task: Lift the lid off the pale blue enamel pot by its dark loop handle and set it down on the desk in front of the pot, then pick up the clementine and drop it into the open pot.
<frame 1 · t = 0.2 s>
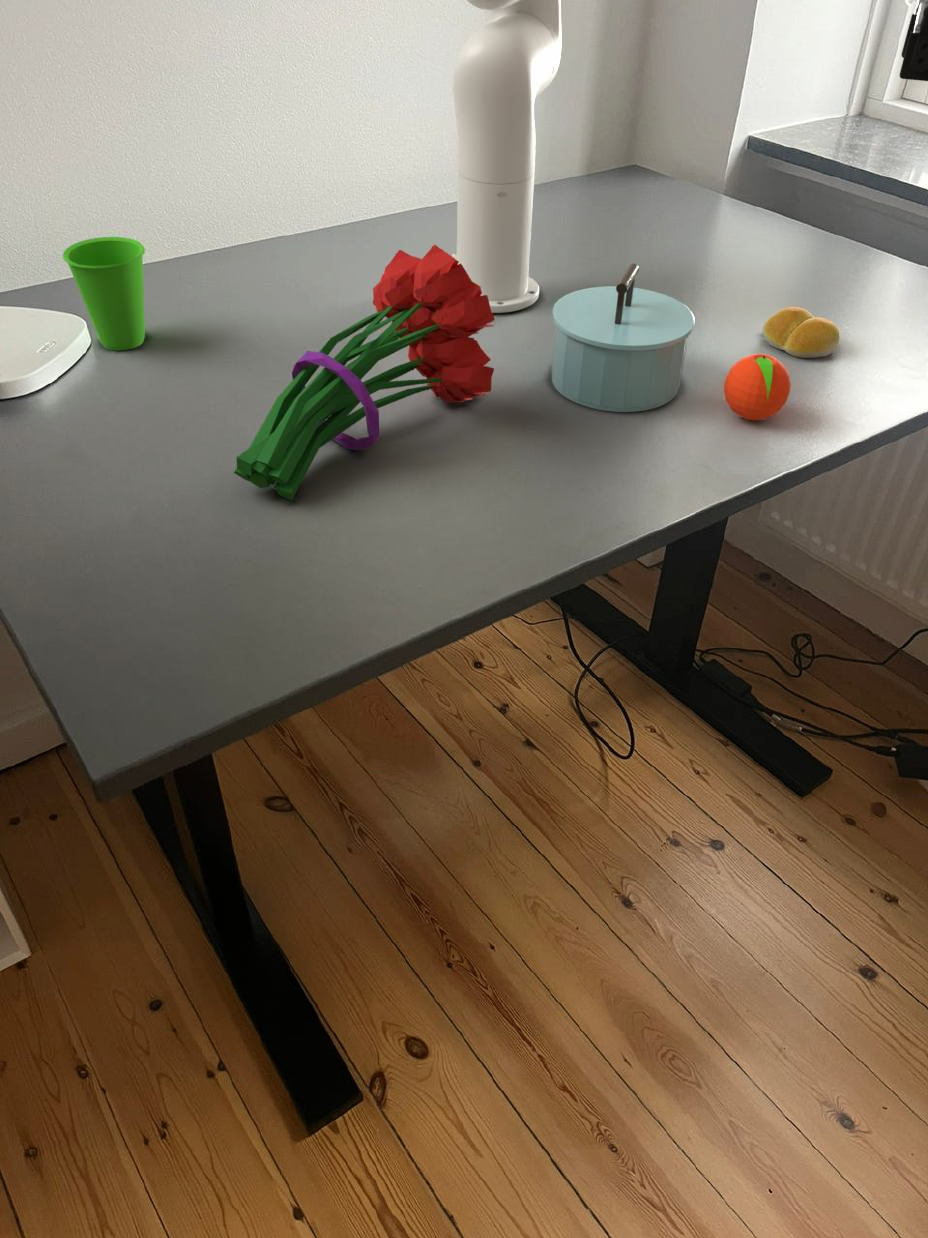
hand: (915, 68, 104), 31 cm above the table, tool pointing down, fingers open, 9 cm apart
lid: (622, 319, 112), point 7 cm above the table, touching pot
clementine: (751, 419, 111), on the table
cup: (123, 342, 122), on the table
bread roll: (797, 345, 125), on the table
pot: (614, 381, 117), on the table
bouquet: (367, 444, 105), on the table
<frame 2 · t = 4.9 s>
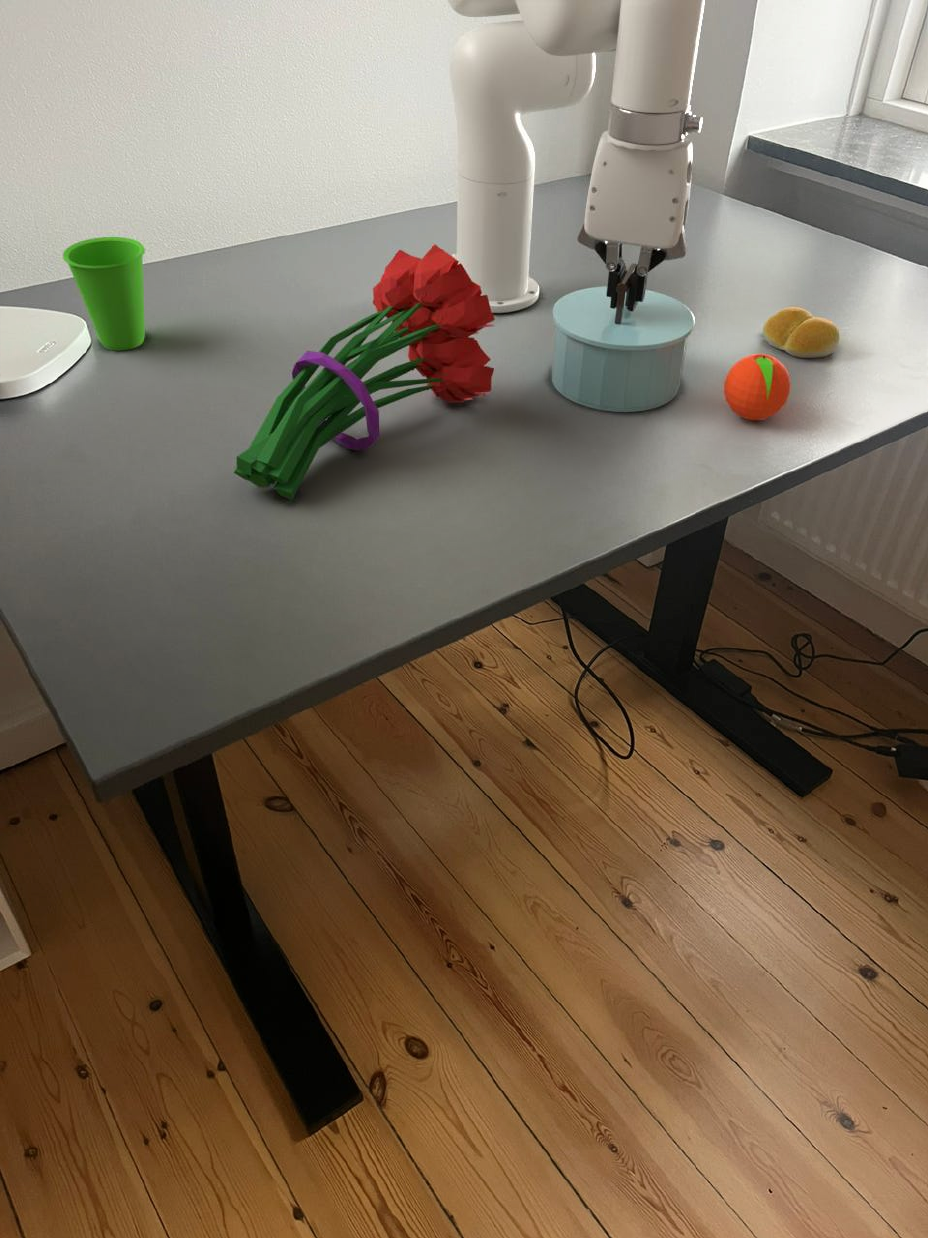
hand: (624, 304, 111), 9 cm above the table, tool pointing down, fingers closed on lid
lid: (622, 319, 112), point 8 cm above the table, touching gripper, pot
everything else where it was.
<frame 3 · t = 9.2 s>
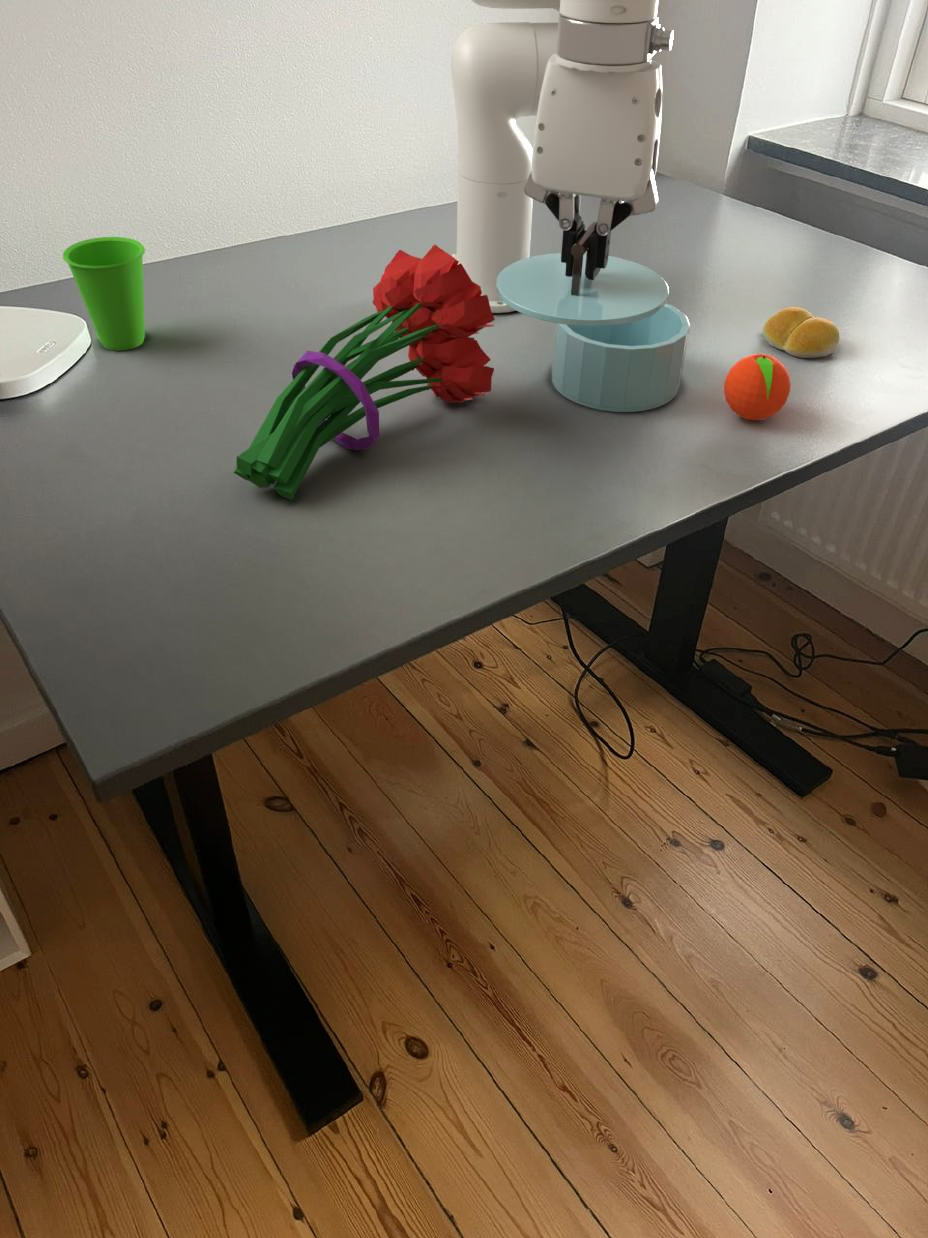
hand: (583, 271, 91), 19 cm above the table, tool pointing down, fingers closed on lid
lid: (581, 290, 92), point 18 cm above the table, touching gripper
everything else where it was.
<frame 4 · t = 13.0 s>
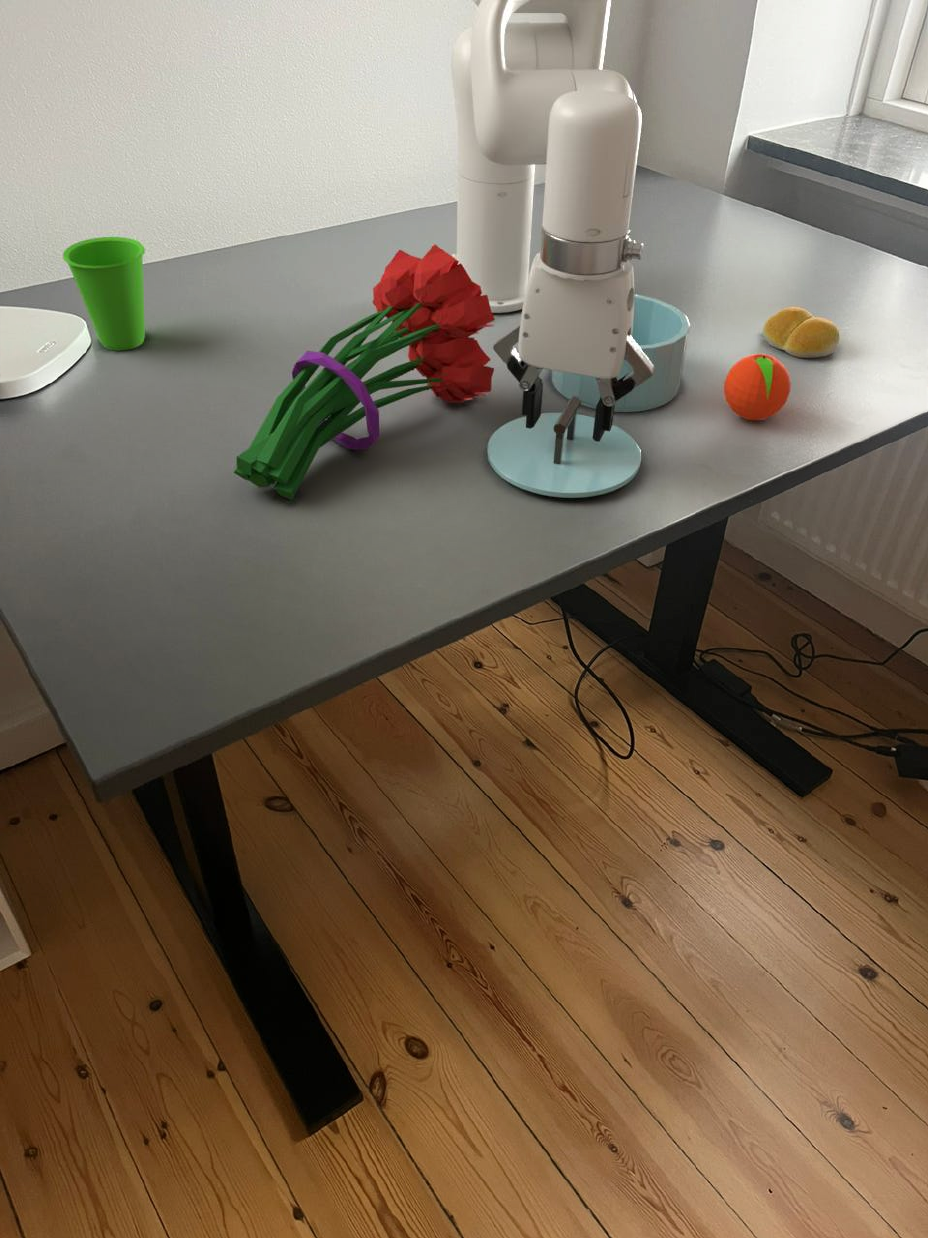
hand: (566, 426, 101), 4 cm above the table, tool pointing down, fingers open, 6 cm apart
lid: (563, 455, 103), point 1 cm above the table
everything else where it was.
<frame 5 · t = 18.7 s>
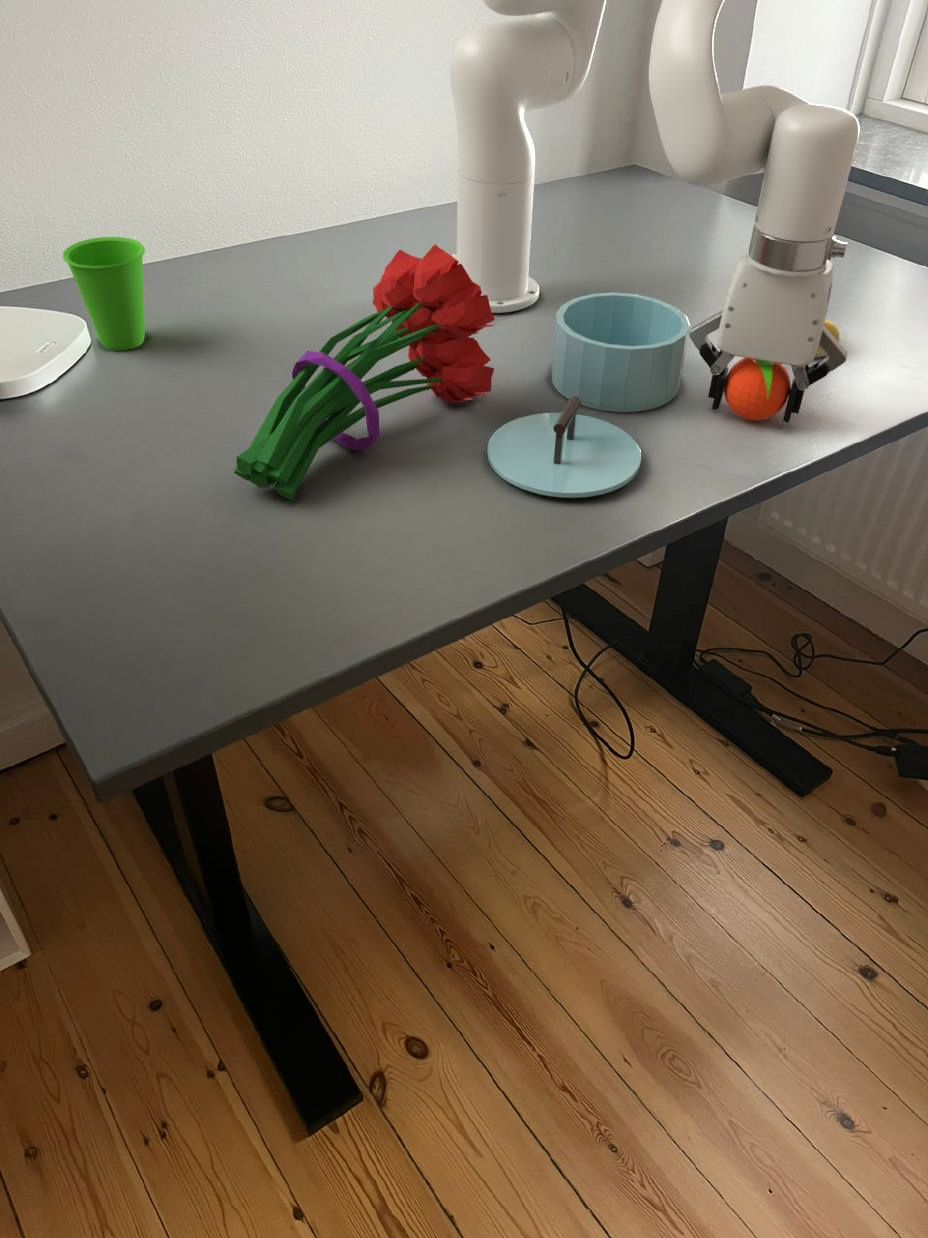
hand: (751, 409, 110), 1 cm above the table, tool pointing down, fingers closed on clementine, 7 cm apart
clementine: (751, 420, 111), on the table, touching gripper
everything else where it was.
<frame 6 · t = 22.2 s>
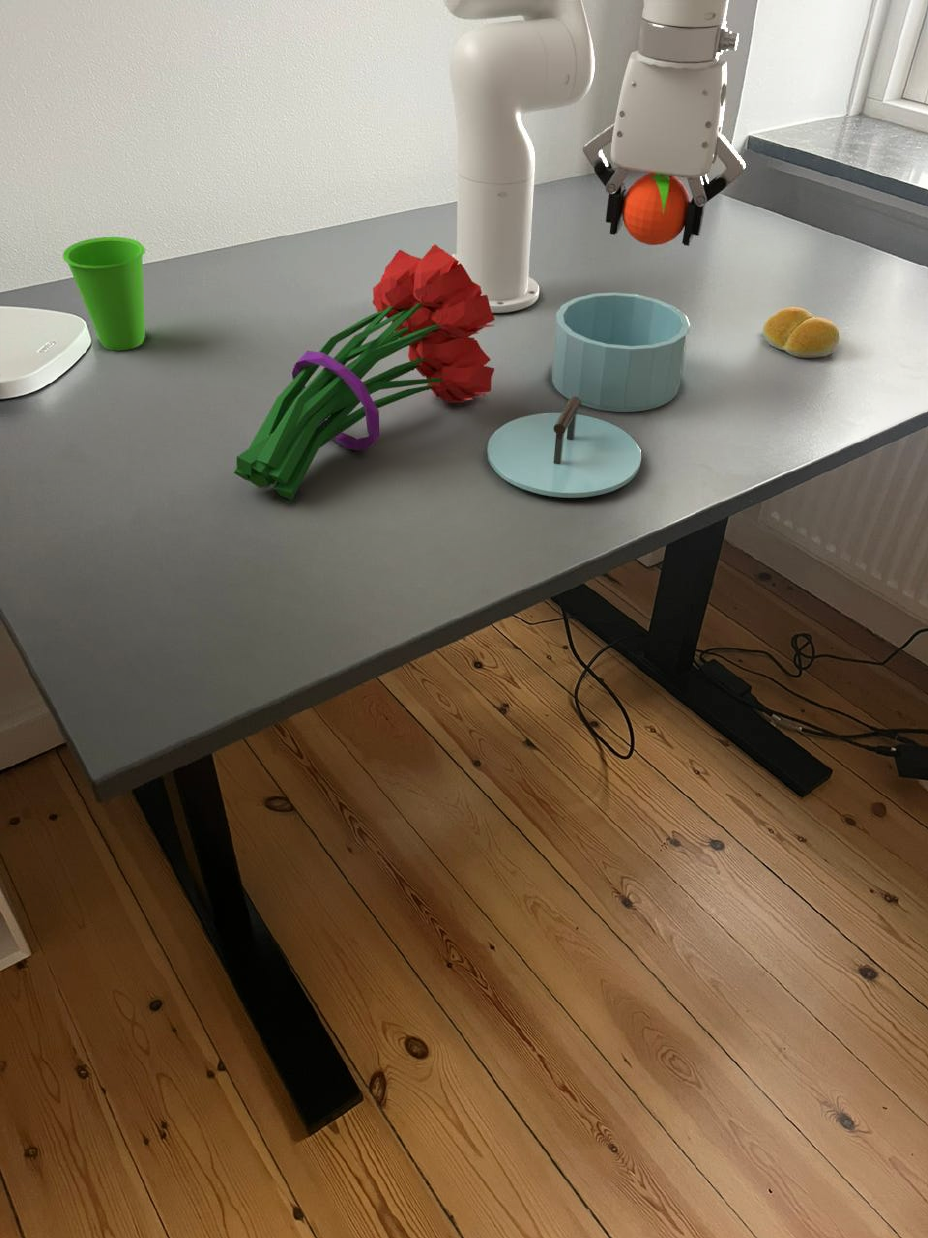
hand: (651, 234, 105), 17 cm above the table, tool pointing down, fingers closed on clementine, 7 cm apart
clementine: (651, 246, 106), point 16 cm above the table, touching gripper
everything else where it was.
when the fingers open (6 cm above the table, at t = 25.9 s): clementine drops 4 cm, resting on pot.
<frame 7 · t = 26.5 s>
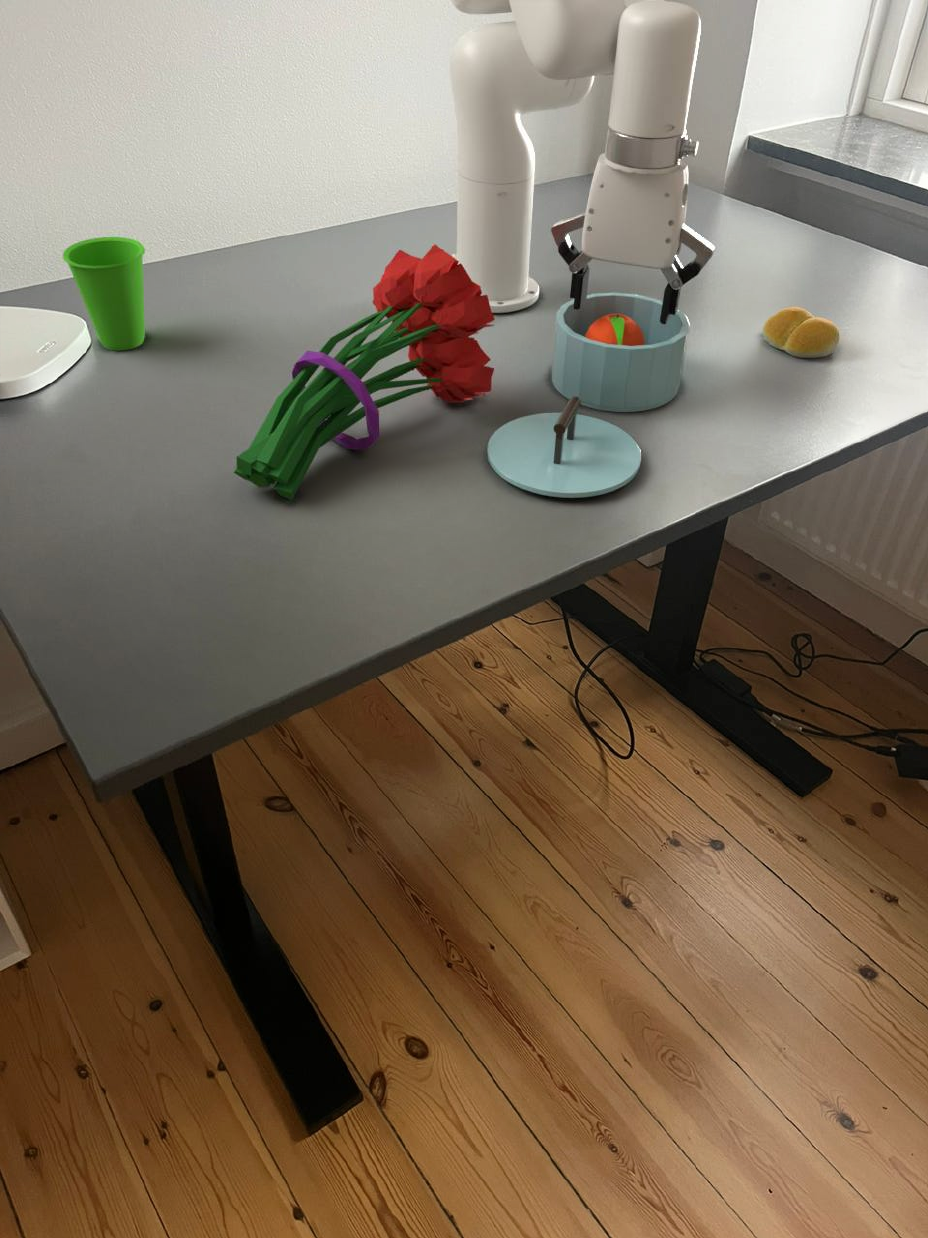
hand: (622, 311, 112), 8 cm above the table, tool pointing down, fingers open, 9 cm apart
clementine: (610, 377, 117), resting on pot
everything else where it was.
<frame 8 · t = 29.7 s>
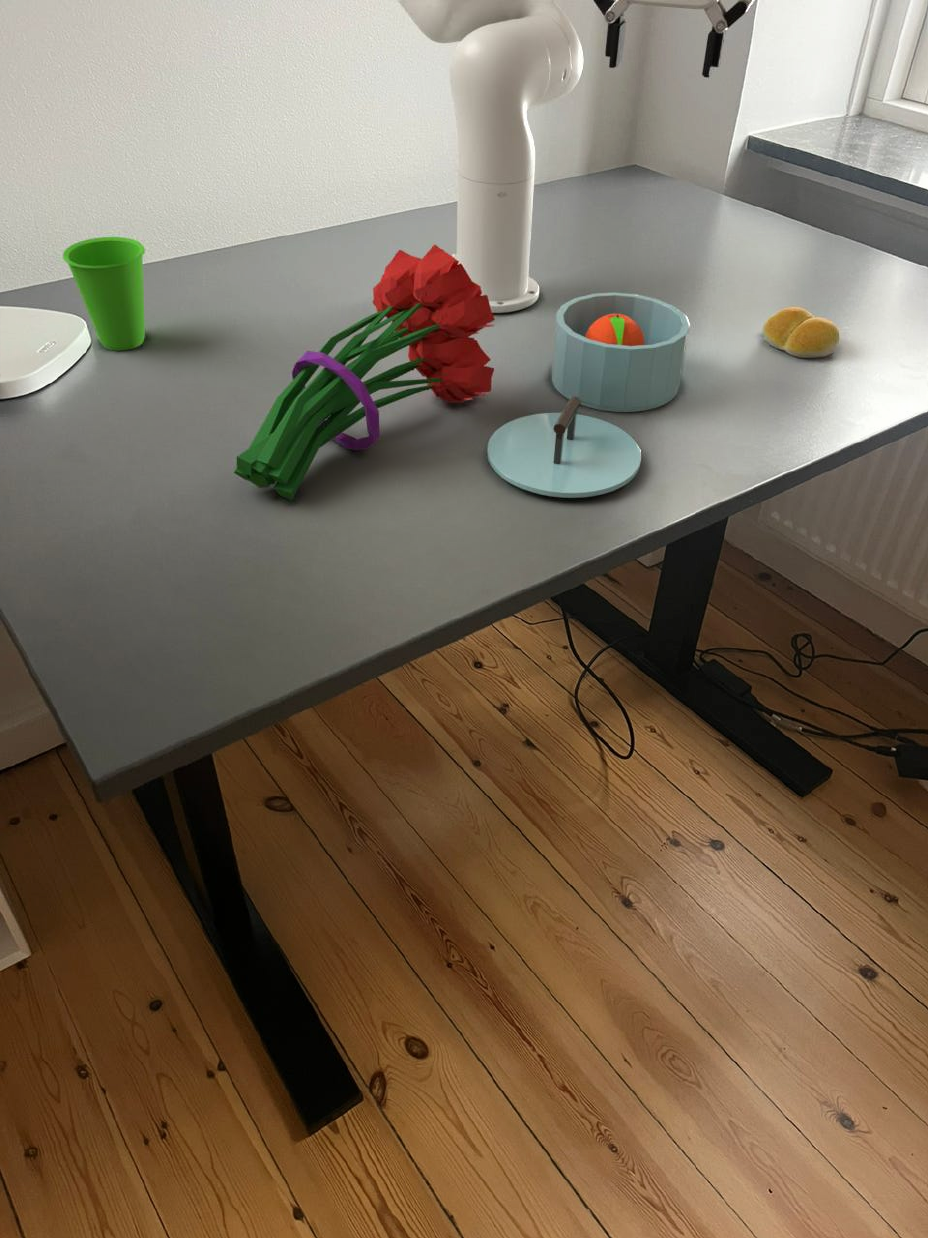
hand: (660, 69, 105), 30 cm above the table, tool pointing down, fingers open, 9 cm apart
nothing on the table moved.
at the end: lid inside the target area (0.1 cm from its centre), point 0.6 cm above the table; lid tilted 0°; clementine inside the target area in the pot (0.6 cm from its centre), point 0.3 cm above the pot's base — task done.
